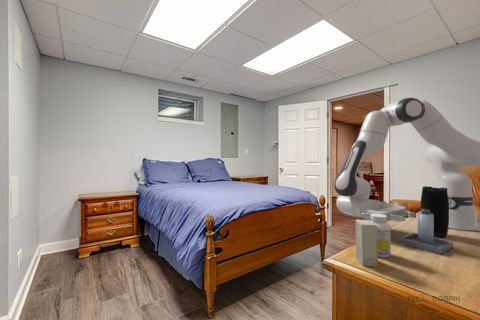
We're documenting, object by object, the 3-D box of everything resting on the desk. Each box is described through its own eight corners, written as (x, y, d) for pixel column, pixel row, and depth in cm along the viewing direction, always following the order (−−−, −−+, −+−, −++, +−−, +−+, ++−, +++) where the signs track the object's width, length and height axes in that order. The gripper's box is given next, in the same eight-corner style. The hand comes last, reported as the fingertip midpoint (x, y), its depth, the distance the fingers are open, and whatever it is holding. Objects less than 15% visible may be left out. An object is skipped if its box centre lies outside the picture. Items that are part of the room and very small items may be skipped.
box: (413, 237, 89) (413, 232, 89) (453, 248, 78) (453, 242, 78) (399, 243, 83) (399, 237, 83) (440, 255, 73) (440, 248, 73)
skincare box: (378, 267, 65) (378, 225, 65) (361, 265, 66) (361, 224, 65) (370, 257, 71) (370, 219, 71) (355, 256, 72) (355, 218, 72)
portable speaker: (451, 235, 91) (451, 187, 91) (444, 240, 86) (445, 189, 86) (424, 229, 98) (425, 185, 98) (417, 234, 93) (417, 187, 93)
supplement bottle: (370, 248, 78) (370, 211, 78) (393, 254, 74) (393, 215, 73) (363, 253, 74) (364, 215, 74) (387, 260, 69) (387, 219, 69)
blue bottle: (420, 240, 84) (420, 207, 84) (435, 244, 80) (435, 209, 80) (415, 243, 81) (415, 209, 81) (431, 247, 78) (431, 211, 78)
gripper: (358, 205, 91) (396, 212, 79) (384, 200, 102) (421, 206, 90) (358, 220, 91) (396, 230, 79) (384, 214, 102) (421, 221, 90)
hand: (410, 217), depth 85 cm, fingers open, 8 cm apart
